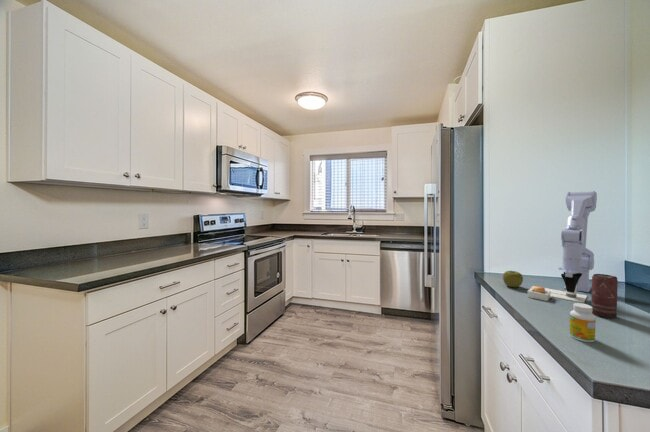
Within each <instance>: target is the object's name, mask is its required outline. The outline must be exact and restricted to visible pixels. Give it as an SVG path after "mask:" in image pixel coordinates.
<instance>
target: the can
mask: <svg viewBox="0 0 650 432" xmlns="http://www.w3.org/2000/svg"><path fill="white" fill-rule="evenodd" d="M618 283H619V281H618V277H617V276H616V275H615V276H614V275H611V274H610V275H609V274H604V273H603V274H602V273H593V275H592V276H591V301H590V302H591V303H590V304H591V305H590V306H592V314H593V315H594V316H595V317H599V318H603V319H608V318H609V319H610V320H611V319H612V318H614V319H616V318H617V317H618V315H617V314H618V313H617V312H618V287H619V286H618ZM609 319H608V320H609ZM612 320H613V319H612Z"/></svg>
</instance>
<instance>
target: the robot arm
mask: <svg viewBox="0 0 650 432" xmlns="http://www.w3.org/2000/svg"><path fill="white" fill-rule="evenodd" d="M597 198H598V194H597V192H596V191H595V190H592V191H571V192H570V191H568V192H567V193H565V204H566V208H567V211H568V212H570V216H568V217H566V220H565V225H564V229H563V230H561V232H560V240H561V247H562V265H561V266H559V267H558V270H559V271H560V270H561V271H563V273H561V274H560V276H561V278H562V280H563V282H564V287H563V288H564V289H565V291H566V290H567V292H572V293H574V291H575V288H576V284H577V291H579V292H585V293H590V291H591V290H592V286H591V285H590V271H592V270H594V266H595V254H594V252H592V250H590V249H589V248H587V235H588V234H587V233H588V221H589V220H588V219H589V215H590V213H592V212H595V211H596V209H597V200H598V199H597Z"/></svg>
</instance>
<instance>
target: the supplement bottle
mask: <svg viewBox="0 0 650 432" xmlns="http://www.w3.org/2000/svg"><path fill="white" fill-rule="evenodd" d="M572 306H573V307H572V308H573V310H571V311H569V336H570V337H571V338H572V339H575V340H578V341H580V342H584V343H594V342H595V341H596V322H597V321H596V320H597V319H596V315H594V314H593V313H592V306H591V305H589V304H586V303H581V302H574V303H573V305H572Z"/></svg>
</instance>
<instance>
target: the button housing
mask: <svg viewBox="0 0 650 432" xmlns="http://www.w3.org/2000/svg"><path fill="white" fill-rule="evenodd" d="M530 288H531V287H530ZM530 288H529V289H530ZM529 289H528V290H527V291H528V292H527V298H530V299H536V300H540V301H545V302H548V301H549V300H550V299H551V298H552V297H551V291H547V290H545V294H543V293H538V292H534V288H531V289H530V290H529Z"/></svg>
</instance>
